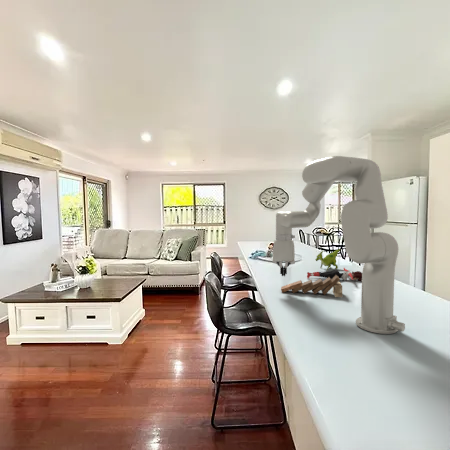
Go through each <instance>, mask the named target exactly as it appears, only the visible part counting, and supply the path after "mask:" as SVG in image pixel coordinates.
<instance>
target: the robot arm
mask: <svg viewBox="0 0 450 450" xmlns="http://www.w3.org/2000/svg"><path fill="white" fill-rule="evenodd" d="M301 174H302V175H301V177H302V178H301V179H302V180H303V182H304V183H306V185H304V188H303V189H302V191H301V195H302V197H303V199H304V200H305V201H307V202H308V205H307V207H306V208H305V210H298V211H297V210H295V211H293V210H291V211H277V212H276V214H275V239H274V241H273V246H272V247H273V249H272V261H271V263H272V264H275V265H277V266H278V267H279V268H280V270H279V274H280V275H281V276H282V277H286V275H287V274H288V267H289V266H291V265H295V263H296V261H295V252H296V251H295V242H294V240H293V239H296V235H293V229H300V228H308V227H310V226H311V225H312V224H313V223H314V222H315V221H316V220H317V218H318V217H319V215H320V212H321V201H322V200H323V198H324V197H325V195H326V194H327V193H328V191H329V190H330V189H331V187H332V186H333V184H334V183H335V182H336V181H339V182H355V187H354V196H355V199H354V200H350V201H349V202H347V203H346V204H345V205H344V207H343V208H342V211H341V214H340V222H341V229H342V235H343V241H344V247H345V251H346V254H347V256H348V257H349V258H350V260H351V261H352V262H354V263H356V264H361V265H362V264H363V267H362V271H361V272H362V280H361V298H360V299H361V300H360V301H361V305H360V306H361V309H360V317H358V318H356V319H355V324H356V326H358V327H359V328H360V329H362V330H365V331H367V332H370V333H375V334H380V335H381V334H382V335H392V334H395V333H397V332H403V333H404V331H405V330H406V323H404V322H401V321H398V320H397V316H396V315H394V305H395V303H394V302H395V301H394V300H395V276H396V275H395V274H396V273H395V272H396V265H397V260H398V259H397V258H398V257H399V256H398V255H399V243H398V241H397V239H396V238H395V237H394V236H393V235H391V234H390V233H387V232H381V231H378V232H377V231H376V232H371V230H372V229H380V228H381V227H383V226H385V225H386V223H387V221H388V219H389V218H388V217H389V216H388V209H387V204H386V198H385V193H384V190H383V183H382V174H381V170H380V167H379V166H378V164H377V163H376V162H375V161H373V159H372V160H371V159H369V158H362V157H354V156H343V155H331V156H328V157H325V158H321V159H316V160H314V161H311V162H309V163H308V164H306V165H305V166H304V167H303V170H302V173H301ZM284 262H285V263H284ZM283 263H284V265H283Z"/></svg>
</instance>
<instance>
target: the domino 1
mask: <svg viewBox="0 0 450 450" xmlns="http://www.w3.org/2000/svg"><path fill="white" fill-rule="evenodd" d="M302 283H303V281H302V280H301V279H300V280H297V281H294V282H292V283H289V284H286V285H283V286H281V287H280V291H281V293H285V292H287V291H288V292H289V291H292V289H295V288H297V287H300V286H302Z"/></svg>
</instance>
